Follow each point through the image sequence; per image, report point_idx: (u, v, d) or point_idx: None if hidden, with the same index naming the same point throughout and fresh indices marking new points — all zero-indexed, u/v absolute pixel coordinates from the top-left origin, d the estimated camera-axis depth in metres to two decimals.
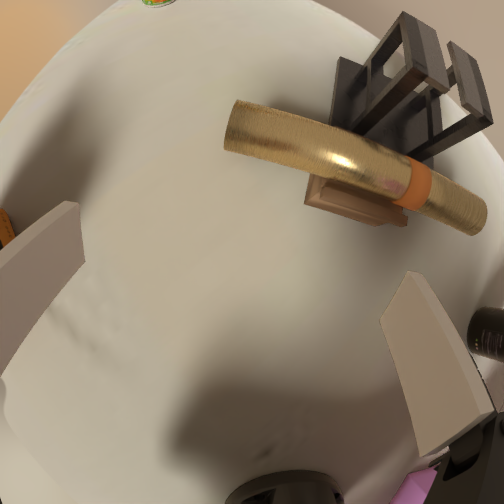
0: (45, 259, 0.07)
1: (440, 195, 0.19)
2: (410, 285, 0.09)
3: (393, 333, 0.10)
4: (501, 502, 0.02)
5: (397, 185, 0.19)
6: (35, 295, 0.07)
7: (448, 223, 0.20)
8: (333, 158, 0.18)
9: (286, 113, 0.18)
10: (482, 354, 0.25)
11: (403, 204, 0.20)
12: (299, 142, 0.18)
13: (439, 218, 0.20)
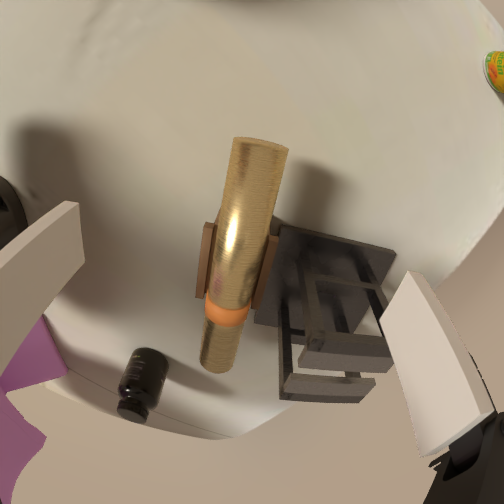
0: (45, 259, 0.07)
1: (214, 332, 0.26)
2: (410, 285, 0.09)
3: (393, 333, 0.10)
4: (501, 502, 0.02)
5: (213, 294, 0.24)
6: (35, 295, 0.07)
7: (202, 335, 0.29)
8: (224, 241, 0.21)
9: (267, 200, 0.20)
10: (128, 362, 0.40)
11: (206, 297, 0.26)
12: (233, 211, 0.20)
13: (203, 327, 0.28)
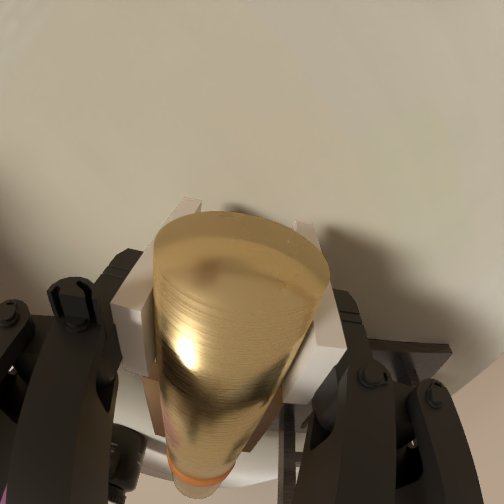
0: None
1: (185, 484, 0.13)
2: None
3: None
4: (389, 476, 0.03)
5: (174, 463, 0.11)
6: None
7: None
8: (174, 434, 0.09)
9: (260, 401, 0.07)
10: None
11: None
12: (179, 413, 0.07)
13: None
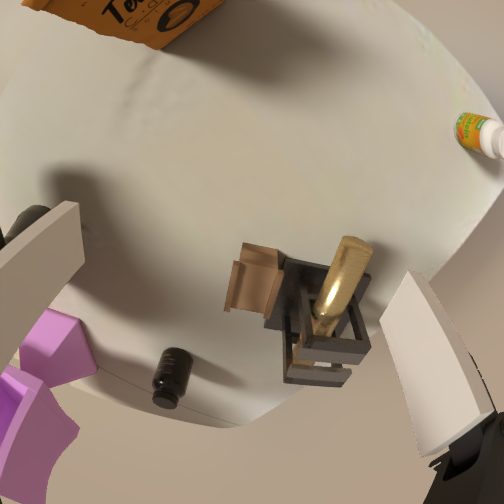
0: (45, 259, 0.07)
1: None
2: (410, 285, 0.09)
3: (393, 333, 0.10)
4: (501, 502, 0.02)
5: None
6: (35, 295, 0.07)
7: None
8: (323, 297, 0.34)
9: (353, 280, 0.31)
10: (160, 359, 0.52)
11: None
12: (332, 283, 0.32)
13: (295, 345, 0.41)
